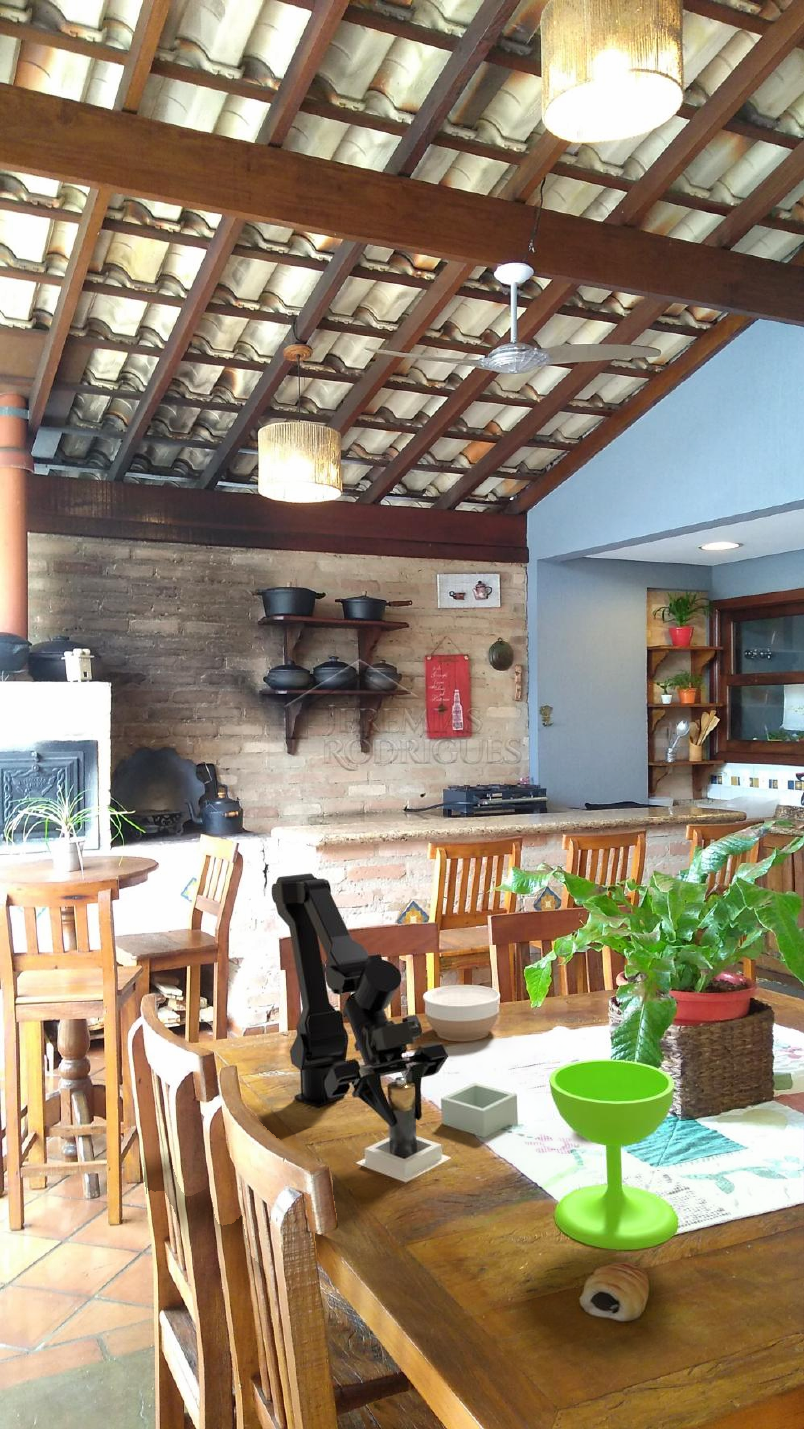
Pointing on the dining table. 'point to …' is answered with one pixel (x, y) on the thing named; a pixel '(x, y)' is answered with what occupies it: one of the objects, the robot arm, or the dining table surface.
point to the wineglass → (614, 1150)
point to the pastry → (616, 1292)
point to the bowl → (462, 1011)
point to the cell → (402, 1118)
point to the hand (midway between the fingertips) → (406, 1122)
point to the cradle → (399, 1167)
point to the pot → (479, 1109)
